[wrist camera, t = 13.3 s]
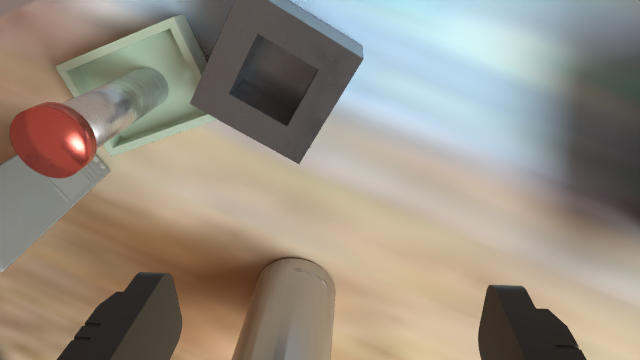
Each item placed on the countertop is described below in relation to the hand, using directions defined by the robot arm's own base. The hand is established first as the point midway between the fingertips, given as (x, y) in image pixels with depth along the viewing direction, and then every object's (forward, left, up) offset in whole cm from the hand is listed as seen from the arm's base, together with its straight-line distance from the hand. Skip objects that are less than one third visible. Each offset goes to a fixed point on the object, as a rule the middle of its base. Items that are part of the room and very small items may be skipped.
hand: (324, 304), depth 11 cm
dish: (-11, +15, -30) cm, 35 cm away
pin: (-11, +15, -29) cm, 34 cm away
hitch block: (-3, +5, -30) cm, 30 cm away
